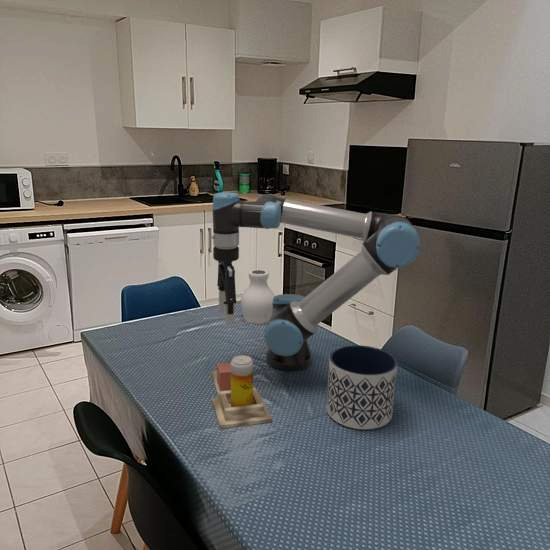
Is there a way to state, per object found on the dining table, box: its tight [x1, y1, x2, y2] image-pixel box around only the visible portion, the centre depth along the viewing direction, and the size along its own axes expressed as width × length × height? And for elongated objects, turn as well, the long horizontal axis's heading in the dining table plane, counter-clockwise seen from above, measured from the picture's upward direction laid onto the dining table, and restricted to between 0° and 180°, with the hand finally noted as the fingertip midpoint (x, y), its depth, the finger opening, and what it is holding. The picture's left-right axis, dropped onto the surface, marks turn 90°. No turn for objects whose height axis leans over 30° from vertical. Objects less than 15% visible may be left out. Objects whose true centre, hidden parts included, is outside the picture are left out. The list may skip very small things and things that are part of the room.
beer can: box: [231, 355, 254, 407], centre depth 141 cm, size 6×6×15 cm
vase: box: [240, 268, 276, 325], centre depth 208 cm, size 14×14×20 cm
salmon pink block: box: [216, 362, 231, 391], centre depth 156 cm, size 8×6×6 cm
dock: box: [210, 369, 273, 430], centre depth 152 cm, size 14×31×4 cm, turn 15°
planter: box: [326, 344, 398, 430], centre depth 143 cm, size 18×18×16 cm
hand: (226, 316), depth 159 cm, fingers open, 10 cm apart
